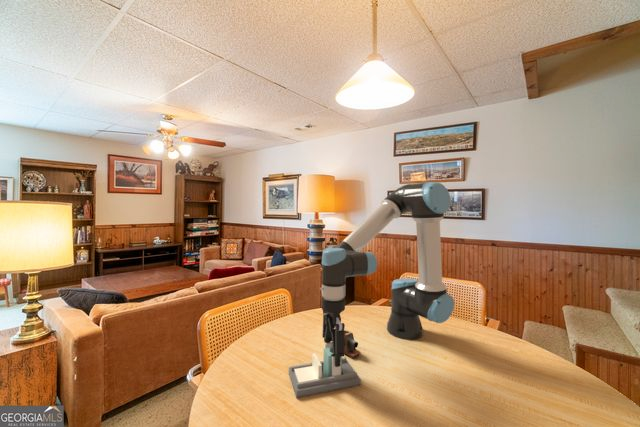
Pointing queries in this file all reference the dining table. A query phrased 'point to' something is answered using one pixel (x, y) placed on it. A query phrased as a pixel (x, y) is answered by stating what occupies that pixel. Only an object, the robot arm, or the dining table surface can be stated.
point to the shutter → (309, 371)
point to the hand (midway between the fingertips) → (332, 368)
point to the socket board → (324, 381)
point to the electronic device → (350, 345)
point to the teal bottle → (328, 362)
